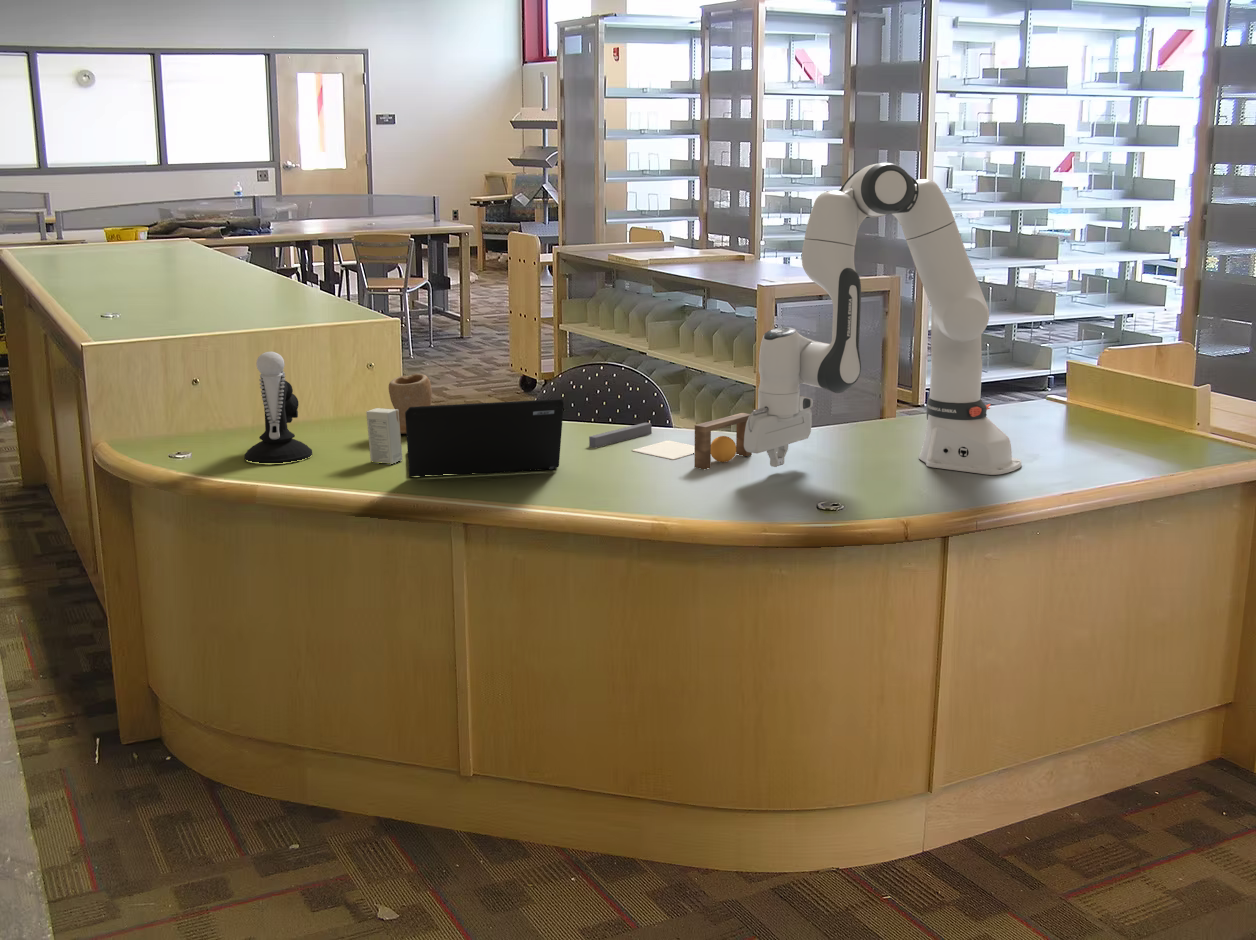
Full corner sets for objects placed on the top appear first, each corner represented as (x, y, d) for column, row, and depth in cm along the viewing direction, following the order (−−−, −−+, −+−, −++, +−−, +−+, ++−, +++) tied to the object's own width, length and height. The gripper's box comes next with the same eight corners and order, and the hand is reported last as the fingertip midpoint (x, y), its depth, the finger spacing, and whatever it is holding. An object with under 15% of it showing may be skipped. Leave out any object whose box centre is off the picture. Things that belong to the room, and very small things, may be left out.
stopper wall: (651, 433, 315) (651, 423, 314) (595, 447, 300) (595, 437, 300) (645, 432, 316) (645, 422, 315) (589, 446, 302) (589, 436, 301)
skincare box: (403, 461, 290) (400, 409, 287) (392, 465, 286) (389, 412, 283) (380, 458, 293) (377, 406, 289) (368, 462, 289) (365, 410, 286)
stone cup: (384, 439, 312) (380, 379, 308) (396, 428, 323) (393, 370, 319) (444, 439, 310) (441, 379, 307) (454, 428, 322) (452, 370, 318)
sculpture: (239, 466, 287) (229, 357, 280) (257, 442, 309) (249, 341, 303) (307, 464, 288) (299, 355, 282) (321, 440, 311) (313, 339, 304)
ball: (729, 464, 289) (746, 451, 285) (713, 469, 285) (729, 455, 281) (717, 442, 291) (733, 429, 287) (700, 446, 286) (716, 433, 282)
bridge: (751, 455, 292) (752, 414, 290) (704, 469, 280) (705, 427, 278) (741, 453, 294) (742, 412, 292) (694, 467, 282) (694, 425, 280)
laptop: (547, 447, 304) (545, 367, 299) (567, 488, 268) (565, 399, 263) (407, 454, 298) (403, 373, 293) (408, 497, 262) (403, 406, 257)
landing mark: (709, 449, 298) (709, 448, 298) (673, 459, 289) (673, 459, 289) (667, 441, 306) (667, 440, 306) (631, 450, 297) (631, 450, 297)
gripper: (761, 413, 264) (759, 477, 267) (817, 398, 278) (815, 459, 282) (737, 409, 268) (736, 472, 271) (793, 394, 282) (792, 454, 286)
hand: (777, 465), depth 277 cm, fingers closed
